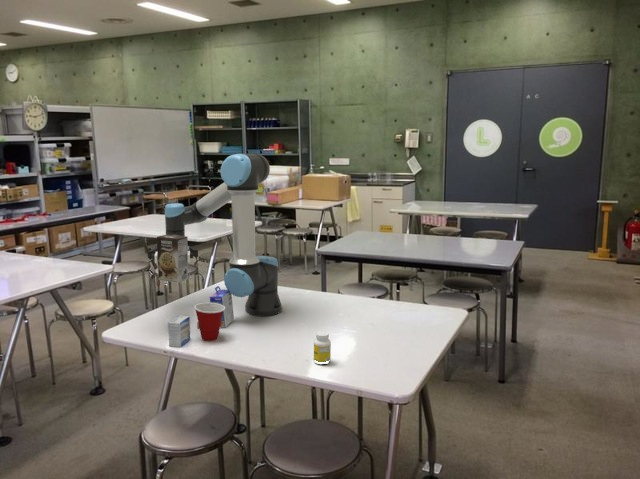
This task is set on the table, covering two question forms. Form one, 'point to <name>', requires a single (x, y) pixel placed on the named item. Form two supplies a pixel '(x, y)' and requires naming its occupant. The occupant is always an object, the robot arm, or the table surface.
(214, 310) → the plastic cup
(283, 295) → the table surface
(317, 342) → the supplement bottle
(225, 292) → the ink cartridge box
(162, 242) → the coffee box
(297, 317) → the table surface
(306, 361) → the table surface
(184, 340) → the medicine box
